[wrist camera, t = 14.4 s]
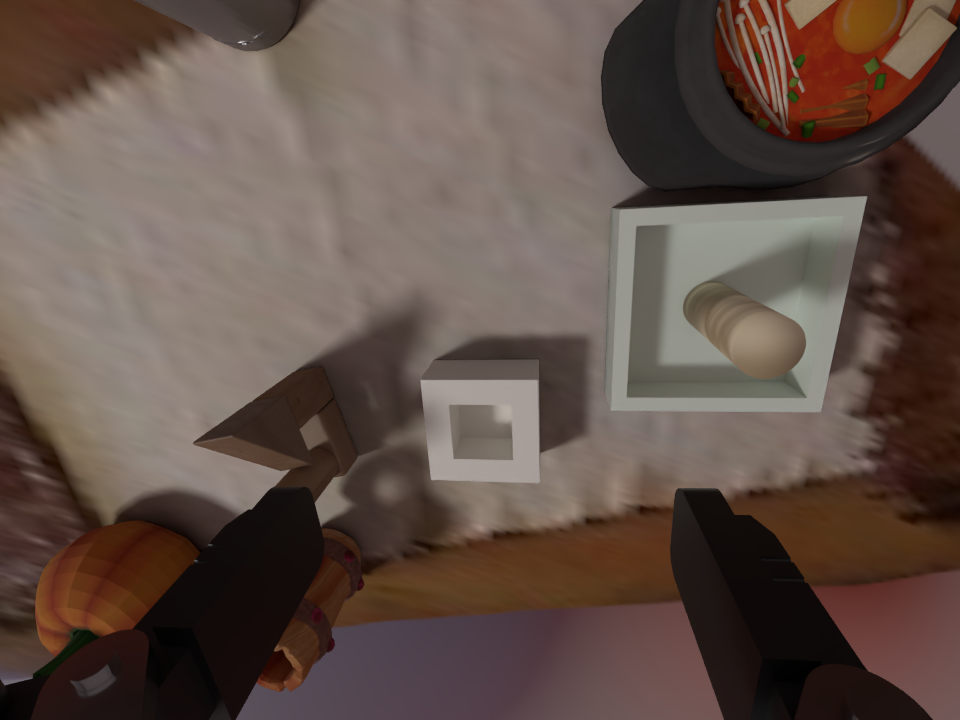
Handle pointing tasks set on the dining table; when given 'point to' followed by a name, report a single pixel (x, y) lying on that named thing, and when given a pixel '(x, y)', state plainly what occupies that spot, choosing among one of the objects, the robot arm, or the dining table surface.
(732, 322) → the dowel
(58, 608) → the pumpkin
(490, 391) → the holder
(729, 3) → the casserole
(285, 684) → the mug
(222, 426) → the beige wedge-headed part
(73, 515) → the dining table surface
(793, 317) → the tray
